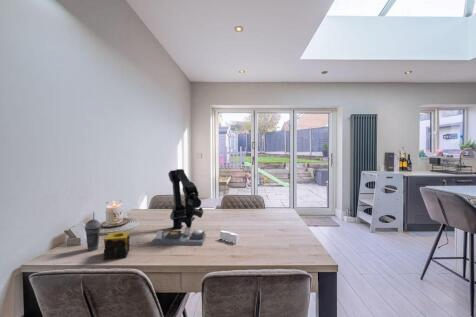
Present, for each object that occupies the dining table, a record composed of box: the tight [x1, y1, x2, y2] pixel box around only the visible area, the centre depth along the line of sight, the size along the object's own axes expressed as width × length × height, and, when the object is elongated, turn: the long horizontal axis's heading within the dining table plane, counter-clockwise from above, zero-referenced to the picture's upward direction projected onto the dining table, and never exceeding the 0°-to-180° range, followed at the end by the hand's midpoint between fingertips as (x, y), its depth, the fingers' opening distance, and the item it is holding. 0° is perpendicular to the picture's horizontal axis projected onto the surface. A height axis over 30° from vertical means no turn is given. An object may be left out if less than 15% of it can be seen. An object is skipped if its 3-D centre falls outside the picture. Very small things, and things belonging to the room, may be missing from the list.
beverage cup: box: [84, 211, 102, 252], centre depth 128 cm, size 7×7×20 cm
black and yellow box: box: [103, 231, 131, 261], centre depth 122 cm, size 10×10×10 cm
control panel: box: [151, 230, 207, 246], centre depth 143 cm, size 13×28×4 cm, turn 89°
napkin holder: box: [219, 229, 239, 244], centre depth 142 cm, size 15×11×6 cm
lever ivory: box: [183, 226, 192, 235], centre depth 146 cm, size 3×3×4 cm
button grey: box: [193, 229, 203, 235], centre depth 142 cm, size 5×5×2 cm
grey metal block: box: [156, 230, 165, 240], centre depth 139 cm, size 3×3×4 cm
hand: (189, 230), depth 151 cm, fingers closed
